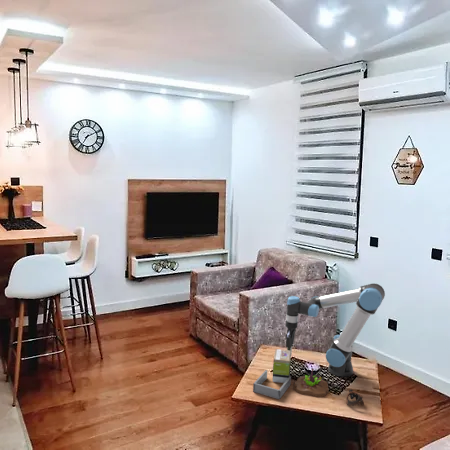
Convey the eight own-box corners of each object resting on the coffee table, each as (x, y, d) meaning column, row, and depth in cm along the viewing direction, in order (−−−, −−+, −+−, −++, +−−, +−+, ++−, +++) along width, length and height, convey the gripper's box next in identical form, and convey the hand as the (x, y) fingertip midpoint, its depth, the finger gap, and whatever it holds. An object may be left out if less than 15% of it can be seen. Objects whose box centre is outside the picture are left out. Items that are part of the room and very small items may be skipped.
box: (290, 384, 271) (291, 376, 271) (279, 399, 255) (280, 391, 254) (265, 377, 278) (265, 370, 278) (252, 391, 262) (253, 383, 261)
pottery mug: (368, 408, 250) (364, 399, 246) (352, 416, 250) (348, 406, 246) (357, 392, 261) (354, 382, 257) (342, 399, 261) (339, 390, 257)
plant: (330, 383, 276) (331, 366, 274) (326, 399, 257) (328, 381, 255) (297, 377, 282) (298, 360, 280) (291, 392, 263) (292, 374, 261)
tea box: (273, 370, 288) (275, 348, 286) (289, 372, 287) (291, 350, 284) (272, 381, 274) (273, 358, 271) (288, 384, 272) (290, 360, 270)
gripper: (289, 316, 295) (286, 351, 299) (282, 322, 283) (279, 358, 287) (300, 319, 292) (297, 353, 296) (294, 325, 280) (291, 361, 284)
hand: (288, 356), depth 292 cm, fingers closed
